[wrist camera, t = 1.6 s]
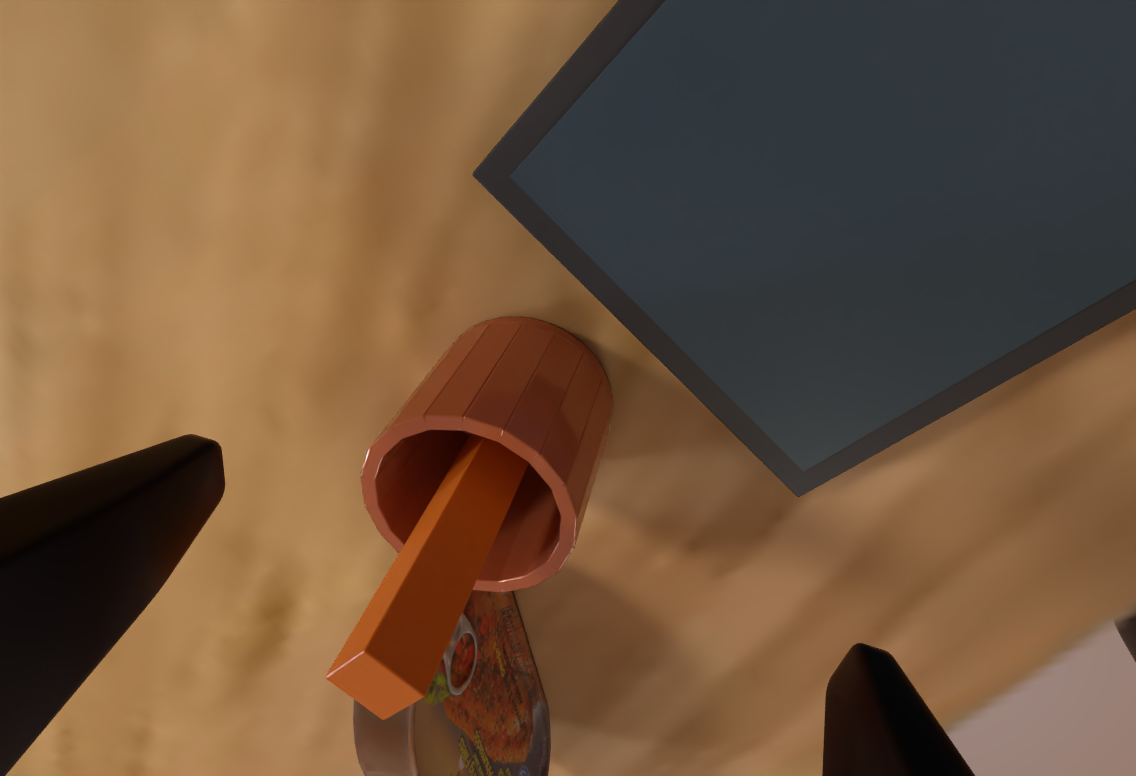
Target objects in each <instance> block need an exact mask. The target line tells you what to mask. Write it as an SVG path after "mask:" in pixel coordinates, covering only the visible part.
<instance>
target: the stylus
mask: <svg viewBox="0 0 1136 776" xmlns="http://www.w3.org/2000/svg"><path fill="white" fill-rule="evenodd" d="M528 464H529V462H528V461H526V460H525V459H523V458H522V457H520V456H519V455H517V454H516V453H514V452H513V451H511V450H510V449H508V448H507V447H505V446H504V445H502V444H501V443H499V442H497V441H494V440H491V439H488V438H485V437H482V436H479V435H476V434H472V433H471V435H470V436H469V438H468V440H467V441H466V443H465V445H464V446H463V448H462V450H461V451H460V453H459V455H458V456H457V458H456V460H455V461H454V463H453V465H452V466H451V468H450V470H449V471H448V473H447V475H446V476H445V478H444V480H443V481H442V483H441V485H440V486H439V488H438V490H437V491H436V493H435V495H434V496H433V498H432V500H431V501H430V503H429V505H428V506H427V508H426V510H425V511H424V513H423V515H422V516H421V518H420V520H419V521H418V523H417V525H416V526H415V528H414V530H413V531H412V533H411V535H410V536H409V538H408V540H407V541H406V543H405V545H404V546H403V548H402V550H401V551H400V553H399V555H398V557H397V558H396V560H395V562H394V563H393V565H392V567H391V568H390V570H389V572H388V573H387V575H386V577H385V578H384V580H383V582H382V583H381V585H380V587H379V588H378V590H377V592H376V593H375V595H374V597H373V598H372V600H371V602H370V603H369V605H368V607H367V608H366V610H365V612H364V613H363V615H362V617H361V618H360V620H359V622H358V623H357V625H356V627H355V628H354V630H353V632H352V633H351V635H350V637H349V638H348V640H347V642H346V643H345V645H344V647H343V648H342V650H341V652H340V653H339V655H338V657H337V658H336V660H335V662H334V663H333V665H332V667H331V668H330V670H329V672H328V673H327V675H326V679H327V680H329V681H330V682H331V683H333V684H334V685H336V686H337V687H338V688H340V689H341V690H342V691H344V692H345V693H347V694H348V695H349V696H351V697H352V698H353V699H355V700H356V701H357V702H359V703H360V704H362V705H363V706H364V707H366V708H367V709H368V710H370V711H371V712H373V713H374V714H375V715H377V716H378V717H379V718H381V719H382V720H385V719H387V718H389V717H390V716H392V715H394V714H396V713H397V712H399V711H401V710H403V709H404V708H406V707H408V706H410V705H411V704H413V703H415V702H417V701H418V700H420V699H422V698H424V697H425V696H426V693H427V691H428V689H429V687H430V684H431V682H432V680H433V678H434V675H435V673H436V671H437V669H438V666H439V664H440V662H441V660H442V657H443V655H444V653H445V651H446V648H447V646H448V644H449V642H450V639H451V637H452V635H453V633H454V630H455V628H456V626H457V624H458V621H459V619H460V617H461V615H462V612H463V610H464V608H465V606H466V603H467V601H468V599H469V597H470V594H471V592H472V590H473V588H474V585H475V583H476V581H477V579H478V576H479V574H480V572H481V570H482V567H483V565H484V563H485V561H486V558H487V556H488V554H489V552H490V549H491V547H492V545H493V543H494V540H495V538H496V536H497V534H498V531H499V529H500V527H501V525H502V522H503V520H504V518H505V516H506V513H507V511H508V509H509V507H510V504H511V502H512V500H513V498H514V495H515V493H516V491H517V489H518V486H519V484H520V482H521V480H522V477H523V475H524V473H525V471H526V468H527V466H528Z"/></svg>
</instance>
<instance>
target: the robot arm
mask: <svg viewBox="0 0 1136 776" xmlns="http://www.w3.org/2000/svg"><path fill="white" fill-rule="evenodd" d="M224 490H225V477H224V467H223V457H222V449H221V446H220V445H219V443H218V442H216V441H214V440H211V439H208V438H204V437H201V436H198V435H194V434H188V435H184V436H181V437H178V438H175V439H172V440H169V441H166V442H163V443H160V444H157V445H154V446H151V447H149V448H146V449H143V450H140V451H137V452H134V453H131V454H128V455H125V456H122V457H119V458H116V459H113V460H111V461H108V462H105V463H102V464H99V465H96V466H93V467H90V468H87V469H84V470H81V471H78V472H75V473H72V474H70V475H67V476H64V477H61V478H58V479H55V480H52V481H49V482H46V483H43V484H40V485H37V486H34V487H31V488H29V489H26V490H23V491H20V492H17V493H14V494H11V495H8V496H5V497H2V498H0V776H5V775H6V774H7V773H8V772H9V771H10V769H11V768H12V767H13V766H14V765H15V764H16V762H17V761H18V760H19V759H20V758H21V756H22V755H23V754H24V753H25V752H26V750H27V749H28V748H29V747H30V746H31V744H32V743H33V742H34V741H35V740H36V738H37V737H38V736H39V735H40V734H41V732H42V731H43V730H44V729H45V728H46V726H47V725H48V724H49V723H50V722H51V720H52V719H53V718H54V717H55V716H56V714H57V713H58V712H59V711H60V710H61V708H62V707H63V706H64V705H65V704H66V702H67V701H68V700H69V699H70V698H71V696H72V695H73V694H74V693H75V692H76V690H77V689H78V688H79V687H80V686H81V684H82V683H83V682H84V681H85V680H86V678H87V677H88V676H89V675H90V674H91V673H92V671H93V670H94V669H95V668H96V667H97V665H98V664H99V663H100V662H101V661H102V659H103V658H104V657H105V656H106V655H107V653H108V652H109V651H110V650H111V649H112V647H113V646H114V645H115V644H116V643H117V641H118V640H119V639H120V638H121V637H122V635H123V634H124V633H125V632H126V631H127V629H128V628H129V627H130V626H131V625H132V623H133V622H134V621H135V620H136V619H137V617H138V616H139V615H140V614H141V613H142V611H143V610H144V609H145V608H146V607H147V605H148V604H149V603H150V602H151V600H152V599H153V598H154V597H155V595H156V594H157V593H158V592H159V590H160V589H161V588H162V586H163V585H164V583H165V582H166V581H167V579H168V578H169V576H170V575H171V573H172V572H173V570H174V569H175V567H176V566H177V565H178V563H179V562H180V560H181V559H182V557H183V556H184V554H185V553H186V551H187V550H188V548H189V547H190V545H191V544H192V542H193V541H194V539H195V538H196V536H197V535H198V533H199V532H200V530H201V529H202V527H203V526H204V525H205V523H206V522H207V520H208V519H209V517H210V516H211V514H212V513H213V511H214V510H215V508H216V507H217V505H218V504H219V502H220V500H221V498H222V496H223V493H224ZM822 776H975V775H974V774H973V772H972V770H971V769H970V767H969V766H968V765H967V763H966V762H965V760H964V759H963V758H962V756H961V754H960V753H959V752H958V750H957V749H956V747H955V746H954V744H953V743H952V741H951V740H950V738H949V737H948V736H947V734H946V733H945V731H944V730H943V728H942V727H941V725H940V724H939V722H938V721H937V720H936V718H935V717H934V715H933V714H932V712H931V711H930V709H929V708H928V707H927V705H926V704H925V702H924V701H923V699H922V698H921V696H920V695H919V693H918V692H917V691H916V689H915V688H914V686H913V685H912V683H911V682H910V680H909V679H908V678H907V676H906V675H905V673H904V672H903V670H902V669H901V667H900V666H899V664H898V663H897V662H896V660H895V659H894V657H893V656H892V655H891V654H890V653H889V652H887V651H885V650H882V649H879V648H876V647H872V646H869V645H866V644H863V643H857V644H855V645H853V646H852V648H851V649H850V650H849V652H848V653H847V654H846V656H845V657H844V659H843V660H842V662H841V663H840V665H839V666H838V668H837V669H836V670H835V672H834V673H833V675H832V676H831V678H830V680H829V683H828V686H827V690H826V701H825V726H824V750H823V774H822Z"/></svg>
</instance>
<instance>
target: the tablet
mask: <svg viewBox="0 0 1136 776" xmlns="http://www.w3.org/2000/svg"><path fill="white" fill-rule="evenodd" d="M472 175H473V176H474V177H475V178H476V179H477V180H478V181H479V182H480V183H481V184H482V185H483V186H484V187H485V188H486V189H487V190H488V191H489V192H490V193H491V194H492V195H493V196H494V197H495V198H496V199H497V200H498V201H499V202H500V203H501V204H502V205H503V206H504V207H505V208H506V209H507V210H508V211H509V212H510V213H511V214H512V215H513V216H514V217H515V218H516V219H517V220H518V221H519V222H520V223H521V224H522V225H523V226H524V227H525V228H526V229H527V230H528V231H529V232H530V233H531V234H532V235H533V236H534V237H535V238H536V239H537V240H538V241H539V242H540V243H541V244H542V245H543V246H544V247H545V248H546V249H547V250H548V251H549V252H550V253H552V254H553V255H554V256H555V257H556V258H557V259H558V260H559V261H560V262H561V263H562V264H563V265H564V266H565V267H566V268H567V269H568V270H569V271H570V272H571V273H572V274H573V275H574V276H575V277H576V278H577V279H578V280H579V281H580V282H581V283H582V284H583V285H584V286H585V287H586V288H587V289H588V290H589V291H590V292H591V293H592V294H593V295H594V296H595V297H596V298H597V299H598V300H599V301H600V302H601V303H602V304H603V305H604V306H605V307H606V308H607V309H608V310H609V311H610V312H611V313H612V314H613V315H614V316H615V317H616V318H617V319H618V320H619V321H620V322H621V323H622V324H623V325H624V326H625V327H626V328H627V329H628V330H629V331H630V332H631V333H632V334H633V335H634V336H635V337H636V338H637V339H638V340H639V341H640V342H641V343H642V344H643V345H644V346H645V347H646V348H647V349H649V350H650V351H651V352H652V353H653V354H654V355H655V356H656V357H657V358H658V359H659V360H660V361H661V362H662V363H663V364H664V365H665V366H666V367H667V368H668V369H669V370H670V371H671V372H672V373H673V374H674V375H675V376H676V377H677V378H678V379H679V380H680V381H681V382H682V383H683V384H684V385H685V386H686V387H687V388H688V389H689V390H690V391H691V392H692V393H693V394H694V395H695V396H696V397H697V398H698V399H699V400H700V401H701V402H702V403H703V404H704V405H705V406H706V407H707V408H708V409H709V410H710V411H711V412H712V413H713V414H714V415H715V416H716V417H717V418H718V419H719V420H720V421H721V422H722V423H723V424H724V425H725V426H726V427H727V428H728V429H729V430H730V431H731V432H732V433H733V434H734V435H735V436H736V437H737V438H738V439H739V440H740V441H741V442H742V443H743V444H744V445H746V446H747V447H748V448H749V449H750V450H751V451H752V452H753V453H754V454H755V455H756V456H757V457H758V458H759V459H760V460H761V461H762V462H763V463H764V464H765V465H766V466H767V467H768V468H769V469H770V470H771V471H772V472H773V473H774V474H775V475H776V476H777V477H778V478H779V479H780V480H781V481H782V482H783V483H784V484H785V485H786V486H787V487H788V488H789V489H790V490H791V491H792V492H793V493H794V494H795V495H796V496H797V497H800V496H802V495H804V494H805V493H807V492H809V491H811V490H813V489H814V488H816V487H818V486H820V485H821V484H823V483H825V482H827V481H829V480H830V479H832V478H834V477H836V476H838V475H839V474H841V473H843V472H845V471H847V470H848V469H850V468H852V467H854V466H855V465H857V464H859V463H861V462H863V461H864V460H866V459H868V458H870V457H872V456H873V455H875V454H877V453H879V452H880V451H882V450H884V449H886V448H888V447H889V446H891V445H893V444H895V443H897V442H898V441H900V440H902V439H904V438H905V437H907V436H909V435H911V434H913V433H914V432H916V431H918V430H920V429H922V428H923V427H925V426H927V425H929V424H931V423H932V422H934V421H936V420H938V419H939V418H941V417H943V416H945V415H947V414H948V413H950V412H952V411H954V410H956V409H957V408H959V407H961V406H963V405H964V404H966V403H968V402H970V401H972V400H973V399H975V398H977V397H979V396H981V395H982V394H984V393H986V392H988V391H989V390H991V389H993V388H995V387H997V386H998V385H1000V384H1002V383H1004V382H1006V381H1007V380H1009V379H1011V378H1013V377H1014V376H1016V375H1018V374H1020V373H1022V372H1023V371H1025V370H1027V369H1029V368H1031V367H1032V366H1034V365H1036V364H1038V363H1040V362H1041V361H1043V360H1045V359H1047V358H1048V357H1050V356H1052V355H1054V354H1056V353H1057V352H1059V351H1061V350H1063V349H1065V348H1066V347H1068V346H1070V345H1072V344H1073V343H1075V342H1077V341H1079V340H1081V339H1082V338H1084V337H1086V336H1088V335H1090V334H1091V333H1093V332H1095V331H1097V330H1098V329H1100V328H1102V327H1104V326H1106V325H1107V324H1109V323H1111V322H1113V321H1115V320H1116V319H1118V318H1120V317H1122V316H1124V315H1125V314H1127V313H1129V312H1131V311H1132V310H1134V309H1136V0H619V1H618V2H617V3H616V4H615V5H614V7H613V8H612V9H611V10H610V11H609V13H608V14H607V15H606V16H605V17H604V18H603V20H602V21H601V22H600V23H599V24H598V26H597V27H596V28H595V29H594V30H593V31H592V33H591V34H590V35H589V36H588V37H587V39H586V40H585V41H584V42H583V43H582V44H581V46H580V47H579V48H578V49H577V50H576V52H575V53H574V54H573V55H572V56H571V57H570V59H569V60H568V61H567V62H566V63H565V65H564V66H563V67H562V68H561V69H560V70H559V72H558V73H557V74H556V75H555V76H554V78H553V79H552V80H551V81H550V82H549V83H548V85H547V86H546V87H545V88H544V89H543V91H542V92H541V93H540V94H539V95H538V96H537V98H536V99H535V100H534V101H533V102H532V104H531V105H530V106H529V107H528V108H527V109H526V111H525V112H524V113H523V114H522V115H521V117H520V118H519V119H518V120H517V121H516V122H515V124H514V125H513V126H512V127H511V128H510V130H509V131H508V132H507V133H506V134H505V135H504V137H503V138H502V139H501V140H500V141H499V143H498V144H497V145H496V146H495V147H494V148H493V150H492V151H491V152H490V153H489V154H488V156H487V157H486V158H485V159H484V160H483V161H482V163H481V164H480V165H479V166H478V167H477V169H476V170H475V171H474V172H473V174H472Z"/></svg>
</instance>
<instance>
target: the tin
mask: <svg viewBox="0 0 1136 776" xmlns="http://www.w3.org/2000/svg"><path fill="white" fill-rule="evenodd" d="M353 723H354V739H355V746H356V751H357V756H358V760H359V764H360V766H361V768H362V770H363V773H364V775H365V776H548V771H549V762H550V748H551V736H550V720H549V713H548V707H547V703H546V699H545V696H544V693H543V690H542V687H541V683H540V680H539V677H538V674H537V670H536V667H535V664H534V661H533V658H532V655H531V651H530V648H529V645H528V642H527V639H526V635H525V631H524V628H523V625H522V622H521V618H520V615H519V612H518V609H517V605H516V602H515V599H514V596H513V593H512V591H509V592H502V593H501V592H489V591H478V590H472V592H471V594H470V597H469V599H468V601H467V603H466V606H465V608H464V610H463V612H462V615H461V617H460V619H459V621H458V624H457V626H456V628H455V630H454V633H453V635H452V637H451V639H450V642H449V644H448V646H447V648H446V651H445V653H444V655H443V657H442V660H441V662H440V664H439V666H438V669H437V671H436V673H435V675H434V678H433V680H432V682H431V684H430V687H429V689H428V691H427V693H426V696H425V697H424V698H422V699H420V700H418V701H417V702H415V703H413V704H411V705H410V706H408V707H406V708H404V709H403V710H401V711H399V712H397V713H396V714H394V715H392V716H390V717H389V718H387V719H385V720H382V719H381V718H379V717H378V716H377V715H375V714H374V713H373V712H371V711H370V710H368V709H367V708H366V707H364V706H363V705H362V704H360V703H359V702H357V701H356V700H355V699H354V712H353Z"/></svg>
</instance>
